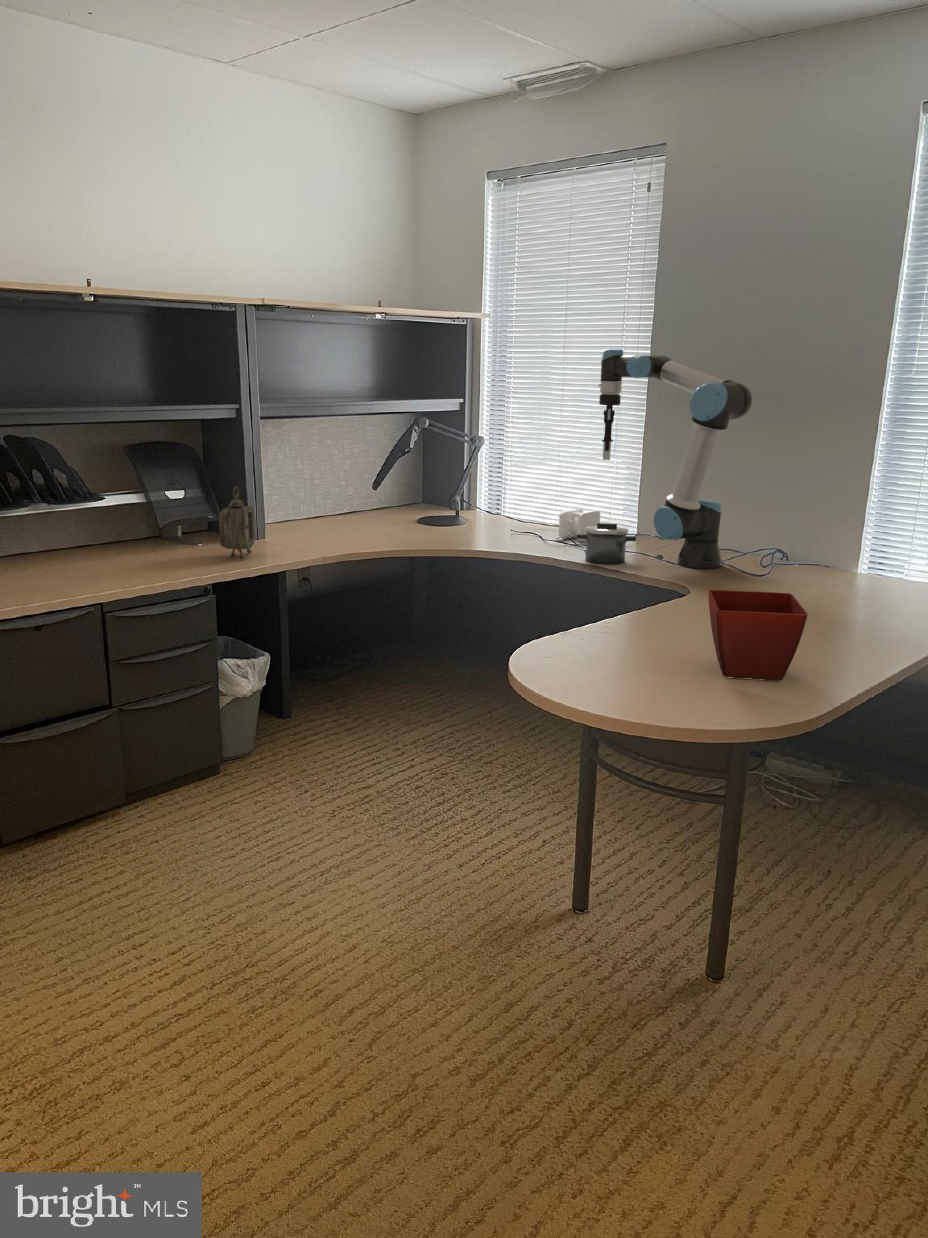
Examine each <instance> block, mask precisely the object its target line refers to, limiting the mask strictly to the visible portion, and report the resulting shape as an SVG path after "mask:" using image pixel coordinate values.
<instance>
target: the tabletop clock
mask: <svg viewBox="0 0 928 1238" xmlns="http://www.w3.org/2000/svg"><path fill="white" fill-rule="evenodd" d="M236 490H237V494H236ZM232 495H233V496H232V497H233V498H234V499H232V500H231V501H230V503H229V505H228V506H227V507H225V508H223V509H222V510H220V511H219V514H218V526H219V543H220V546H222V547H223V548H224V549H228V550H229V549H230V550H232V552H231V553H230V557H231V558H234V557H236V553H235V550H237V551H238V552H239V554H240V557H239V559H240V560H241V559H244V560H245V555H243V551H242V550H247V551H246V552H247V554H248V553H251V554H252V550H251V548H252V547H253V545H254V544H255V515H254V507H253V506H251V505H250V506H249V505H248V506H247V505H246V506H245V504H244V502H243V500H241V499H238V498H239V496H240V489H239V487H238V486H234V487H233V490H232ZM233 556H234V557H233Z"/></svg>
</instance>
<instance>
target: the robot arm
mask: <svg viewBox="0 0 928 1238" xmlns="http://www.w3.org/2000/svg"><path fill="white" fill-rule="evenodd" d="M600 363H601V364H600V365H601V367H600V383H599V384H598V387H599V388H600V389H599V393H601V394H599V401H598V402H599V403H598V404H599V405H602V406H606V409H604V410H603V423H604V436H603V439H602V440H601V442H602V443H603V446H602V460H603V461H611V453H612V452H611V450H612V449H611V446H612V442H613V440H614V439H612V427H613V423H614V417H615V414H616V410H614V409H613V408H614V406H620V405H621V393H622V385H623V384H622V380H623V378H635V379H641V378H642V379H643V378H645V379H646V378H648V379H649V378H652V379H656V380H659V381H662V382H664V383H666V384H669V385H671V386H674V387H677V388H678V389H681V390H683V391H685V392H689V393H690V394H691V397H690V400H689V409H690V413H691V414H690V415H691V416H692V417H691V422H692V424H693V429H692V432H691V436H690V439H689V442H688V445H687V448H686V451H685V455H684V458H683V460H682V464H681V467H680V470H679V474H678V476H677V479H676V483H675V485H674V489H673V493H671V494H669V495H667V496H666V499H665V501H664V502H665V503H664V505H662V506H660V507H659V508H657V510H656V511H655V512H654V514H653V527H654V529H655V531H656V533H657V534H658V536H660V537H661V538H662V539H664V540H667V541H677V540H681V539H683V540H684V541H683V544H682V546H681V549H680V551H679V554H678V555H677V565H680V566H683V567H685V568H686V567H688V568H691V569H705V570H706V569H707V570H708V569H709V570H710V569H716V568H717V569H718V568H720V567H721V566H722V556H721V552H720V548H719V537H720V525H721V517H722V505H721V502H718V501H713V500H707V499H699V498H700V495H701V491H702V489H703V487H704V482H705V481H706V476H707V475H708V471H709V468H710V465H711V462H712V459H713V456H714V453H715V450H716V448H717V444H718V441H719V437H720V435H721V434H722V432H725V431H727V429H728V426H729V423H730V421H731V420H737V419H741V418H743V417H744V416H745V415H746V414H747V413H748V412H749V411H750V410H751V409H752V408H751V407H752V404H753V394H752V391H751V390H750V389H749V387H748V386H746V385H745V384H743V383H740V382H737V381H734V380H731V379H725V380H722V379H720V378H717V377H714V376H712V375H710V374H707V373H704V372H702V371H700V370H697V369H694V368H691V367H688V366H686V365H684V364H681V363H679V362H675V361H674V360H673V359H672V358H671V357H670V356H666V355H642V354H628V355H627V354H626V355H624V350H623V349H615V348H614V349H613V348H612V349H610V348H609V349H604V350H602V354H601V361H600Z"/></svg>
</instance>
